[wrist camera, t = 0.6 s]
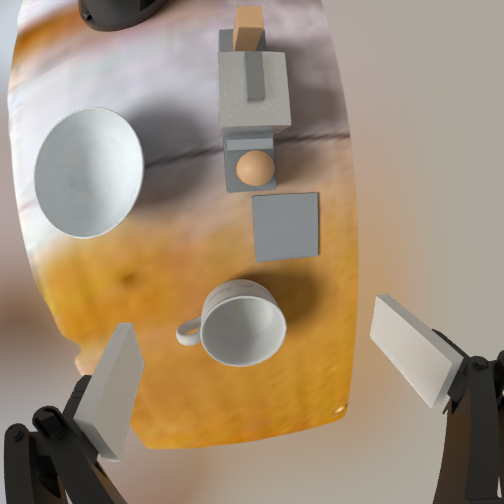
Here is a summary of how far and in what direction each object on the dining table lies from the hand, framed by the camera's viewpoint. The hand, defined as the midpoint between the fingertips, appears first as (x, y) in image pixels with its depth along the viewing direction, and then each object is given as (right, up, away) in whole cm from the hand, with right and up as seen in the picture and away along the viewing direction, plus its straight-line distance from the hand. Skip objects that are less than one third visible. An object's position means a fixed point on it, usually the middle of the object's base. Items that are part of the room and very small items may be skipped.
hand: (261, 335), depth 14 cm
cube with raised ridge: (-1, +21, +14) cm, 26 cm away
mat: (+4, +8, +24) cm, 26 cm away
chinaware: (-20, +15, +19) cm, 32 cm away
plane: (-2, +23, +19) cm, 30 cm away
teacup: (-4, -4, +26) cm, 27 cm away
